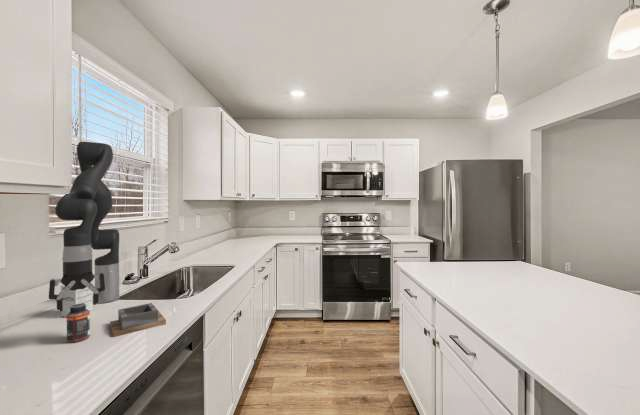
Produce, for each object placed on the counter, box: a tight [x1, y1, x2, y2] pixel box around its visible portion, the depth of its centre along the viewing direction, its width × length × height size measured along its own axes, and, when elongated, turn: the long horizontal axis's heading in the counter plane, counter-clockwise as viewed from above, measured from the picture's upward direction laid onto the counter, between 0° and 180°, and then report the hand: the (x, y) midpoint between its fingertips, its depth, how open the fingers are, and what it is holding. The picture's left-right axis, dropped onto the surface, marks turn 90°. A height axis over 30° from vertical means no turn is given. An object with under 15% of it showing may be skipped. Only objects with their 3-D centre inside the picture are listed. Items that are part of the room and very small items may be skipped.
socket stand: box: [109, 302, 167, 338], centre depth 107 cm, size 12×16×6 cm
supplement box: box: [60, 281, 94, 318], centre depth 118 cm, size 7×7×13 cm
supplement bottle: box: [66, 304, 91, 343], centre depth 96 cm, size 6×6×11 cm
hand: (78, 307), depth 96 cm, fingers open, 8 cm apart
